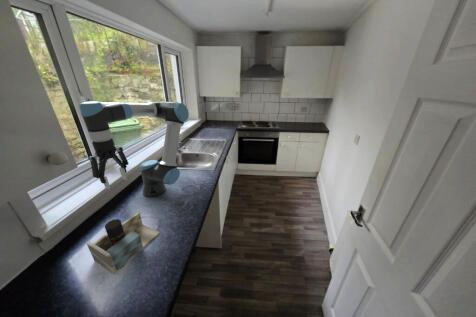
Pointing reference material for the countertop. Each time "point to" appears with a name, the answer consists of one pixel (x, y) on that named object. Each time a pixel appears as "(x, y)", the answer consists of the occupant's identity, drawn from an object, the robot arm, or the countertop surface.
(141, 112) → the robot arm
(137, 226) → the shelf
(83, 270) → the countertop surface
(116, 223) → the deodorant
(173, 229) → the countertop surface
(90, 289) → the countertop surface
